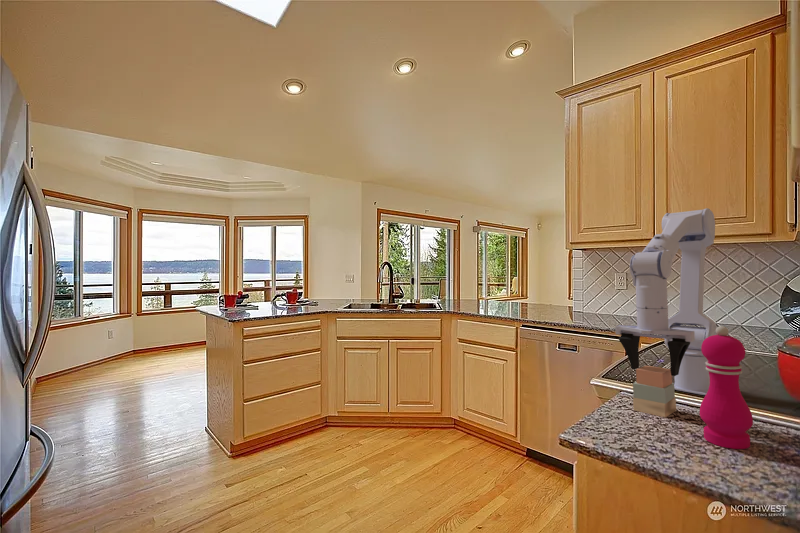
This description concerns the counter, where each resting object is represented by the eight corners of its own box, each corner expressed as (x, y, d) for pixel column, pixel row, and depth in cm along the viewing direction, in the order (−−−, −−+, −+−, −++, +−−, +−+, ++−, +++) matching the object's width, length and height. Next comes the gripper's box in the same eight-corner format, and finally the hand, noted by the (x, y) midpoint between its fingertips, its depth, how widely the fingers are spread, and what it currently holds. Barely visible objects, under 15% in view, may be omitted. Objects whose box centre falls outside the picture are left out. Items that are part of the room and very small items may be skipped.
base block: (645, 405, 90) (644, 391, 90) (676, 411, 85) (675, 397, 85) (633, 411, 86) (633, 397, 86) (665, 418, 82) (664, 404, 82)
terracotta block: (646, 378, 89) (645, 365, 89) (672, 383, 85) (671, 369, 86) (636, 383, 86) (636, 369, 86) (662, 388, 82) (662, 373, 82)
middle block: (643, 391, 90) (642, 377, 90) (674, 397, 86) (674, 383, 86) (633, 397, 86) (632, 383, 86) (665, 403, 82) (665, 389, 82)
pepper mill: (699, 430, 75) (695, 322, 75) (751, 438, 71) (746, 324, 71) (701, 444, 69) (696, 327, 69) (757, 454, 65) (751, 330, 65)
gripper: (608, 307, 89) (610, 368, 89) (684, 311, 78) (687, 381, 78) (623, 305, 94) (625, 363, 93) (697, 308, 82) (699, 375, 82)
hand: (654, 371), depth 86 cm, fingers open, 7 cm apart
